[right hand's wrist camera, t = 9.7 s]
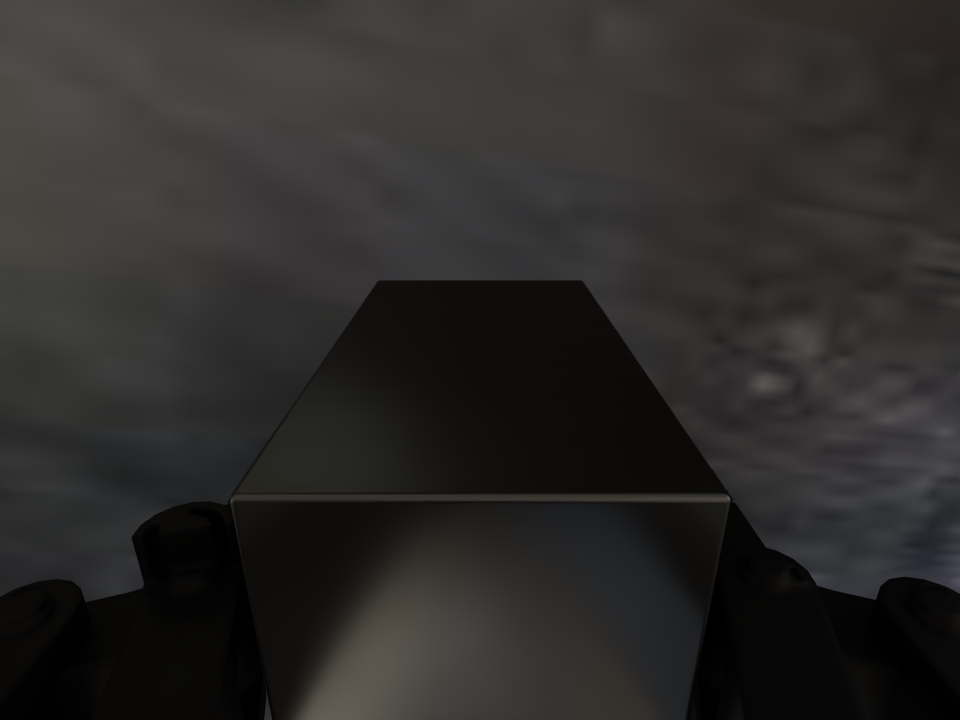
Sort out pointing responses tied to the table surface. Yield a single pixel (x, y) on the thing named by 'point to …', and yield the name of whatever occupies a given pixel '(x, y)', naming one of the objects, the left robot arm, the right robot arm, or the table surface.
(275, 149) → the table surface
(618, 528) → the bar
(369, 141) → the table surface
